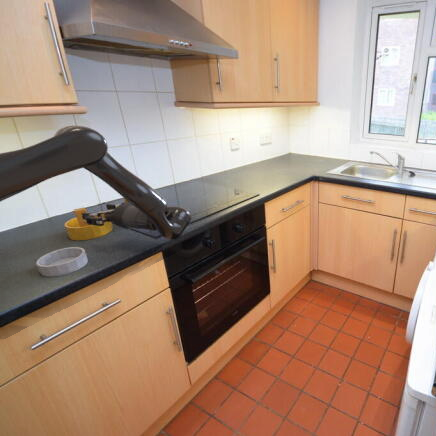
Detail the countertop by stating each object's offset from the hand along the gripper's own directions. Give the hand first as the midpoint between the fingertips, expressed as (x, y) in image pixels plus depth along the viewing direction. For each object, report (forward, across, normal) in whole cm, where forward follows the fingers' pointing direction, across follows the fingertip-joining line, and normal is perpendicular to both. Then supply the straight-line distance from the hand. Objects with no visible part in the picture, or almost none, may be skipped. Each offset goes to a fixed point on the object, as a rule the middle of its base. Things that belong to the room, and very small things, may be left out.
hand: (95, 211), depth 102 cm
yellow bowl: (+10, -3, +11) cm, 15 cm away
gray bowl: (-5, +17, +11) cm, 21 cm away
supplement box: (+8, -1, +11) cm, 14 cm away
